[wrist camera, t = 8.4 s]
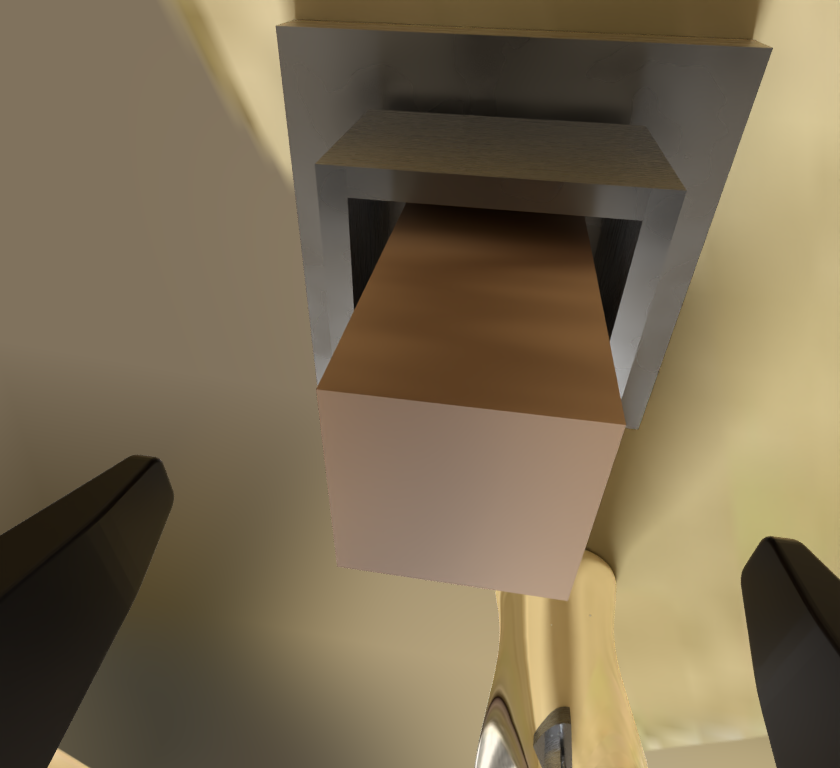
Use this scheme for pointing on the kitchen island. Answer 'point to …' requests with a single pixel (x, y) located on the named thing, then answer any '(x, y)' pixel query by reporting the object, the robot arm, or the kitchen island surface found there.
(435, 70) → the bracket
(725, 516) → the kitchen island surface
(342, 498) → the brown rectangular block
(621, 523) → the kitchen island surface
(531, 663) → the beer glass
